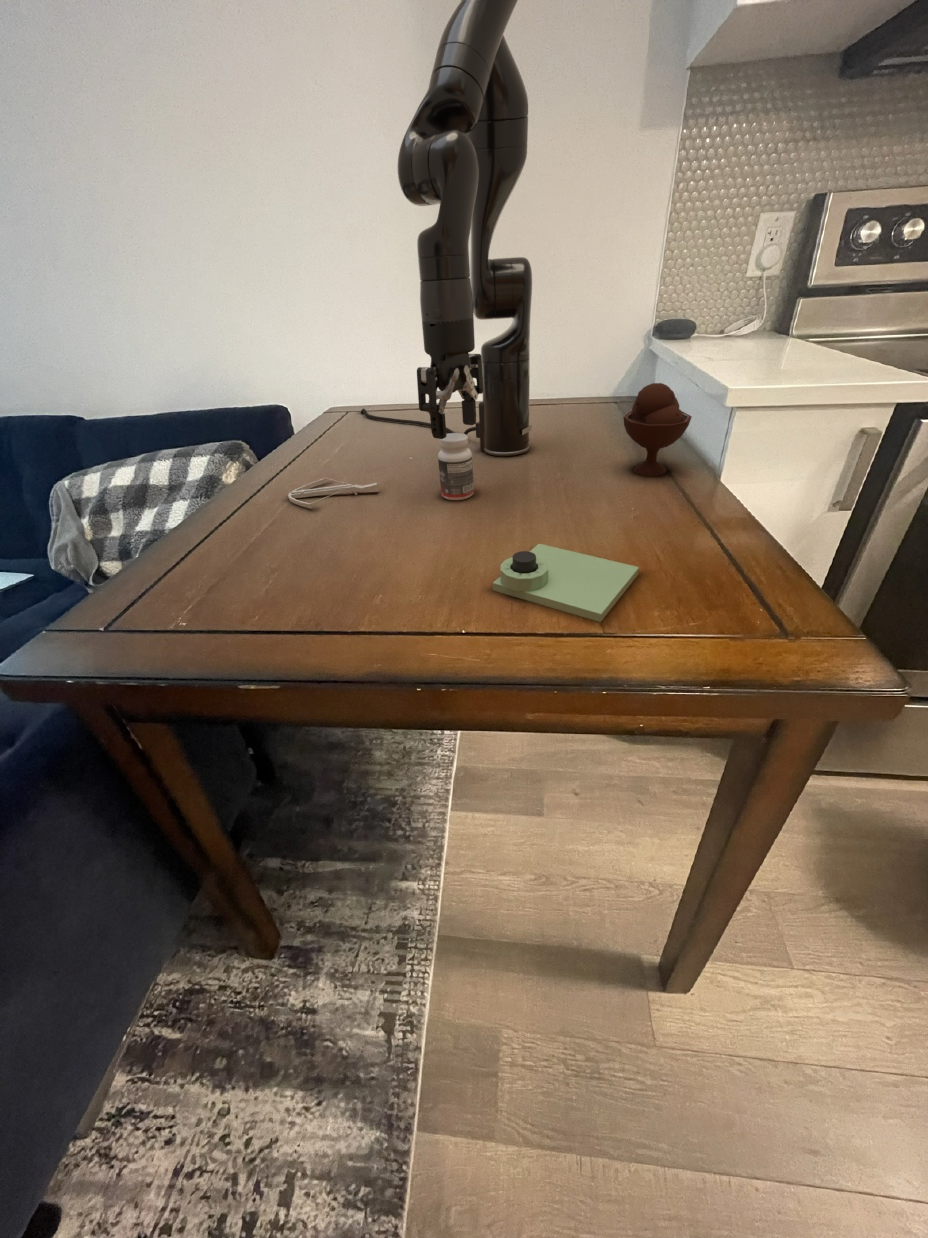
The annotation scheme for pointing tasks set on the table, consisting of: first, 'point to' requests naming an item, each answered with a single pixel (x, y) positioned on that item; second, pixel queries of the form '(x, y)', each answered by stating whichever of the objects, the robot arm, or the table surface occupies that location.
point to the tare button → (524, 562)
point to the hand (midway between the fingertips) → (455, 430)
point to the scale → (568, 582)
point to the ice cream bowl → (655, 424)
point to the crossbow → (327, 491)
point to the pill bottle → (455, 467)
